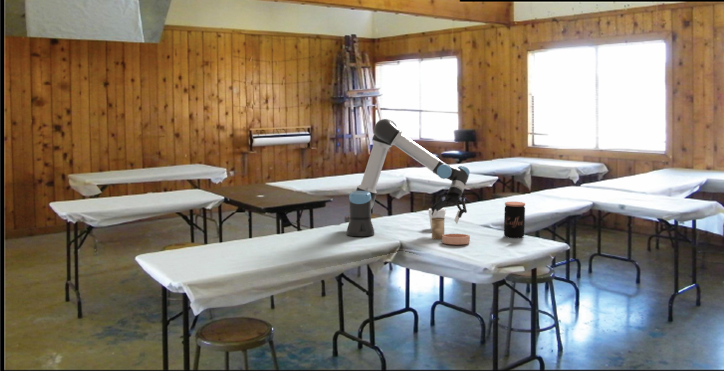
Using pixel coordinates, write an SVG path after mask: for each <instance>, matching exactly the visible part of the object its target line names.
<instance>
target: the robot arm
mask: <svg viewBox="0 0 724 371" xmlns="http://www.w3.org/2000/svg"><path fill="white" fill-rule="evenodd" d="M373 131H374V133H373V137H372V139H371V140H372V141H371V142H372V144H373V145H372V147H371V148H372V149H371V150H370V151H371V152H370V154H369V157H368V161H367V164H366V166H365V167H366V168H365V171H364V173H363V176H362V180H361V184H359V185H357V187H356V190H355V191H352V192H350V193H349V196H348V200H349V222H348V226H347V227H346V228H347V229H346V236H351V237H368V236H374V235H375V229H374V225H373V221H372V209H373V207H374V206H375V200H376V197H377V194H378V192H377V188H376V187H377V184H378V182H379V179H380V175H381V173H382V170H383V166H384V163H385V160H386V158H387V154H388V150H389V148H392V147H393V146H394V147H396V148H398V149H400V151H402V152H403V153H405V154H407V156H409V157H410V158H412V159H414V160H415V161H416V162H418V163H419V164H421V165H422V166H424V167H425V168H427V169H428V170H430V171H431V172H432V173H433V174H434V175H437V176H438V177H439V178H440V179H443V180H445V179H446V180H449V181H451V183H450V186H449V187H448V188H449V189H448V191H447V194H446V196H444V195H441V196H440V197H439V198H438V200H436V202H435V203H433V205H432V206H430V208H431V210H432V211H433V212H432V218H436V216H437V213H438V212H437V211H439V210H440V209H441V208H443V209H444V207H446V206H456V207H457V209H458V210H457V212H456V215H455V217H454V223H455V224H459V219H461V218H462V216H463V214H464V213H465V214H466V213H467V212H468V211H467V205H466V198H465V196H464V195H463V192H464V191H465V187H466V184H467V182H468V180H469V177H470V169H469V168H468V167H466V166H463V165H460V166H457V167H455V166H453V165H450V164H447V163H446V162H444V161H442V160H441V159H439V158H438V157H436V155H434V154H432V153H431V152H429V151H428V150H427V149H425V148H424V147H422V146H421V145H419V144H418V143H416V142H415V141H413V140H412V139H411V138H409V137H408V136H407V135H406V134H403V132H402V130H401V129H400V128H399V127H397V125H396V123H395V122H394V121H393V120H390V119H387V118H382V119H379V120H378V121H377V122H376V123H375V125H374V127H373ZM459 202H461V204H462V207H461V205H460V203H459ZM432 218H431V220H432Z"/></svg>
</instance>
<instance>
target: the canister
mask: <svg viewBox="0 0 724 371" xmlns="http://www.w3.org/2000/svg"><path fill="white" fill-rule="evenodd" d="M445 219H446V217H445V218H439V217H437V218H432V229H431V239H432V240H438V241H442V235H444V234H445Z"/></svg>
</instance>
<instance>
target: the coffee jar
mask: <svg viewBox="0 0 724 371" xmlns="http://www.w3.org/2000/svg"><path fill="white" fill-rule="evenodd" d="M504 205H505V206H504V214H503V215H504V219H503V220H504V222H503V235H504V236H505V237H506V238H508V237H509V238H510V239H520V238H521V239H522V238H524V236H525V223H526V222H525V218H526V207H525V206H526V203H525V202H523V201H505V202H504ZM509 238H508V239H509Z"/></svg>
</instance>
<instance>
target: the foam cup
mask: <svg viewBox="0 0 724 371" xmlns="http://www.w3.org/2000/svg"><path fill="white" fill-rule="evenodd" d="M432 212H433V211H432V210H431V207H430V208H428V217H429V222H430V223H429V224H430V225H429V226H430V229H431V230H432V220H431V218H432ZM437 212H438V213H437V216H436V218H437V217H439V218H445V219H446V217H445V216H446V213H447V212H446V209H445V208H444V207H443V208H441V209H440V210H439V211H437Z"/></svg>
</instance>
